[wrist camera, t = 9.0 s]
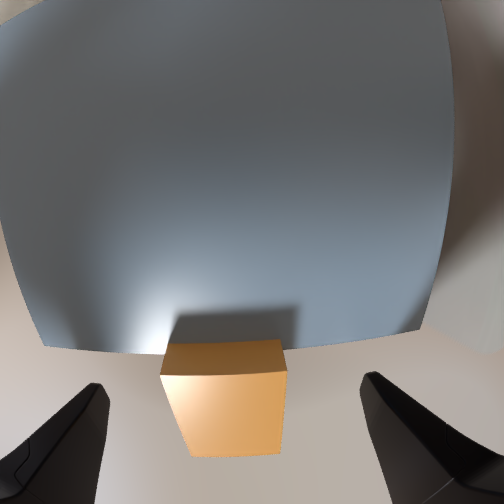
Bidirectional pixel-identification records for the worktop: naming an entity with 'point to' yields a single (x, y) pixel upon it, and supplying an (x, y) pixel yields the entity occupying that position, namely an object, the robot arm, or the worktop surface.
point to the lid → (225, 186)
